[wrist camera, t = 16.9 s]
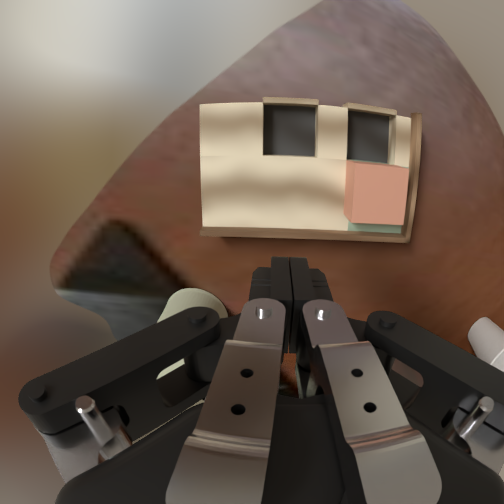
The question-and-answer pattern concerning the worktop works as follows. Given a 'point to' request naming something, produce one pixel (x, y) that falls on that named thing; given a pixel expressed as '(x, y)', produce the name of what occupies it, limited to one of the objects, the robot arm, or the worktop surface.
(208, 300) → the can
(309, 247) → the worktop surface
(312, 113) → the board
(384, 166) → the salmon pink square block
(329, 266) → the worktop surface
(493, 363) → the dixie cup
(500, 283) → the worktop surface
